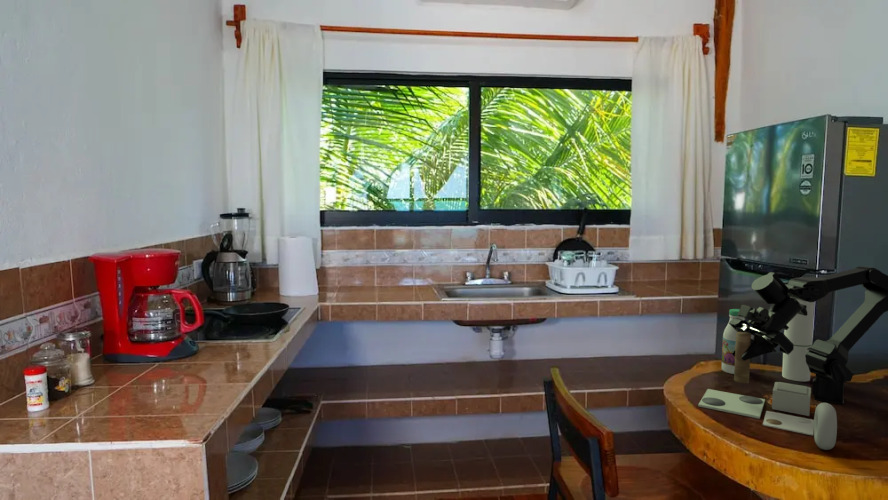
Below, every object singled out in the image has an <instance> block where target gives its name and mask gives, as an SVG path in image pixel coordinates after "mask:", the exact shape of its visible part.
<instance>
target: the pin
mask: <svg viewBox="0 0 888 500" xmlns="http://www.w3.org/2000/svg"><path fill="white" fill-rule="evenodd" d="M750 345H751V334H750V333H747V332H736V347H735V370H734V374H733V375H734V376H733V381H735V382H736V383H741V384H749V383H750V369H751V359H748V360H745V361H744V360H742V359H741V357H742V355H743V354H744V353H745V351H746V350H747V349H748V348H749V347H750Z"/></svg>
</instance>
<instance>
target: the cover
mask: <svg viewBox="0 0 888 500" xmlns="http://www.w3.org/2000/svg"><path fill="white" fill-rule="evenodd" d="M811 395H812V388H811V387H809V386H807V385H801V384H800V385H799V384H794V383H788V382H783V381H775V382H774V385H773V388H772V397H771V399H772V401H771V402H772V403H771V409H772V410H776V411H780V412H785V413H786V412H787V413H791V414H797V415H803V416H807V417H810V410H811Z"/></svg>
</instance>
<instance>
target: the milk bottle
mask: <svg viewBox="0 0 888 500" xmlns="http://www.w3.org/2000/svg"><path fill="white" fill-rule="evenodd" d="M739 310H740V308H732V309H729V311H728V312H729V313H728V316H729V321H728V323H727V325H726V327H725V328H724V330H723V334H722V346H721V370H722V371H723V372H725V373H727V374H731V375H734V370H735V356H733V355H732V351H733V349H734V347H735V344H736V332H737V331H736V330H735V329H734V328H733V327H732V326H731V325H730V324H729V322H730V321H731V320H732V319H733V318H739V319H743V320H745V321H746V318H744V317H742V316H741V317H740V316H738V315H737V314H738V312H739Z"/></svg>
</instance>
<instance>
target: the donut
mask: <svg viewBox="0 0 888 500" xmlns="http://www.w3.org/2000/svg"><path fill="white" fill-rule="evenodd" d="M814 411H815V412H814V416H813V420H814V430H813V439H814V442H815V444H816V446H817V447H818V448H819V449H821V450H823V451H829V450H833V448H834V447H835V445H836V443H837V442H836V441H837V435H838V433H837V431H838V419H837V418H838V417H837V411H836V408H835V407H834V406H833V405H832V404H830V403H828V402H820V403H819V404H817V406H816V407H815V410H814Z"/></svg>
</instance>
